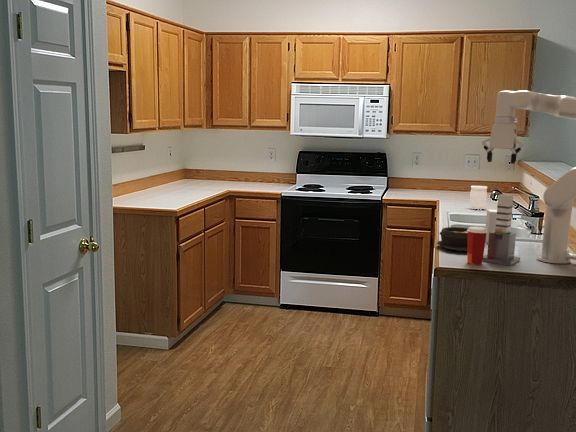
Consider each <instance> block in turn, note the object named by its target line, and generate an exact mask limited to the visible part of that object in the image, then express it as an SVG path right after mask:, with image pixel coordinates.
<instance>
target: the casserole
mask: <svg viewBox="0 0 576 432" xmlns="http://www.w3.org/2000/svg"><path fill="white" fill-rule="evenodd" d="M468 228H469V227H459V226H457V227H456V226H454V227H453V226H449V227H448V226H447V227H443V228H442V229H441V231H440V232H439V235H440V237H441V240H439V241H437V242H436V244H438V245H439V246H441V247H443V248H445V249H448V250H450V251H454V252H467V247H468V231H467V230H468Z"/></svg>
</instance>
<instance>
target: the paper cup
mask: <svg viewBox="0 0 576 432" xmlns="http://www.w3.org/2000/svg"><path fill="white" fill-rule="evenodd" d="M467 228H468V230H467V231H468V247H467V251H466V252H467V254H466V255H467V256H466V258H467V259H466V261H467V264H469V265H474V266H480V265H481V266H482V264H483V262H484V261H483V256H485V255H484V254H485V247H486V234H487V229H486V227H483V226H482V227H481V226H469V227H467Z"/></svg>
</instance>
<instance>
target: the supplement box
mask: <svg viewBox="0 0 576 432" xmlns="http://www.w3.org/2000/svg"><path fill="white" fill-rule="evenodd" d="M496 218H497V209H486V218H485V220H486V221H485V228H486V229H487V234H486V241H485V244H487V245H488V241H489V233H490V232H492V231H495V230H496Z"/></svg>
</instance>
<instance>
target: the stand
mask: <svg viewBox="0 0 576 432" xmlns="http://www.w3.org/2000/svg"><path fill="white" fill-rule="evenodd" d="M516 238H517V233H516V232H512V231H510V234H508V235H507V234H499V233H495V231H492V232H490V233H489V241H488V244H487V252H486V253H487V254H485V255H483V261H482V262H483V263H490V264H495V265H496V264H498V265H503V266H509V267H511V266H513V265H515V264H517V263H519V262H521V257H520V256H515V250H516V249H515V247H516Z"/></svg>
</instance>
